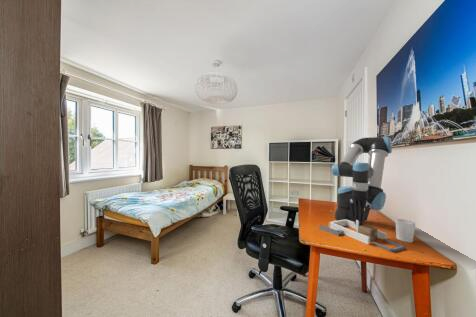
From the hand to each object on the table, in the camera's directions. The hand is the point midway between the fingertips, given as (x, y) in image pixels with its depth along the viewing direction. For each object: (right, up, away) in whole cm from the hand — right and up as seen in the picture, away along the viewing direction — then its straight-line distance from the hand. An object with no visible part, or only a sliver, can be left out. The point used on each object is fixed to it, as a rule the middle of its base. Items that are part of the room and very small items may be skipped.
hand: (358, 231), depth 107 cm
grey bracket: (+6, -2, -13) cm, 15 cm away
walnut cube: (+2, -2, -4) cm, 5 cm away
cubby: (0, -2, +2) cm, 3 cm away
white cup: (+21, -3, -5) cm, 22 cm away
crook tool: (-13, -2, +5) cm, 14 cm away
